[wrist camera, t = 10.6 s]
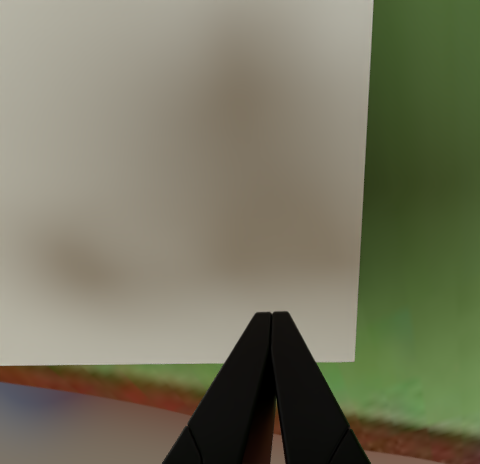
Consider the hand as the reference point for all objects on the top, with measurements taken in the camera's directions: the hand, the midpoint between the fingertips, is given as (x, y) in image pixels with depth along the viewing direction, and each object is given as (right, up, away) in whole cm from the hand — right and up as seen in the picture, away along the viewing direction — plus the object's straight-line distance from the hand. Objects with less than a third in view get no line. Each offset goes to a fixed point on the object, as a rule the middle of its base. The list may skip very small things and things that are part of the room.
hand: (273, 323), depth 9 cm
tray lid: (-8, +3, +4) cm, 9 cm away
